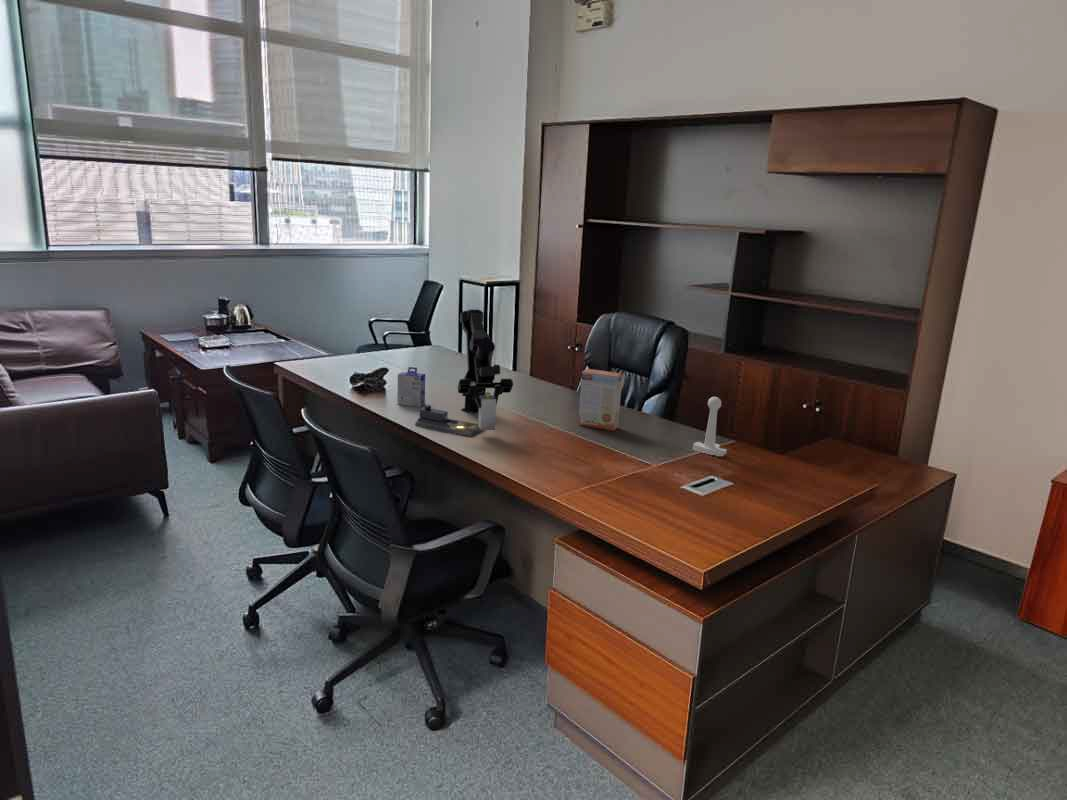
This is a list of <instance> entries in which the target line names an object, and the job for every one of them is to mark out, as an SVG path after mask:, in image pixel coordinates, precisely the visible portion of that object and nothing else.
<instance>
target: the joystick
mask: <svg viewBox="0 0 1067 800" xmlns="http://www.w3.org/2000/svg"><path fill="white" fill-rule="evenodd" d="M707 406H708V408H709V415H708V421H707V426H706V432H705V435H704V437H705V438H704V443H702V442H701V441H696V442H694V443H693V445H692V451H694V450H695V452H696V451H699V452H702V453H706V454H710V455H716V456H724V457H725V456H726V455H727V451H728V450H727V448H721V445H720V444H718V443H716V434H717V420H718V419H717V418H718V411H719V409H720V408H721V407H722V400H721V398H719V397H717V396H712V397H710V398H708V401H707ZM699 452H698V453H699ZM725 454H726V455H725Z"/></svg>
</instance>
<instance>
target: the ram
mask: <svg viewBox="0 0 1067 800" xmlns="http://www.w3.org/2000/svg"><path fill="white" fill-rule="evenodd" d="M448 413H449V412H448V411H446V410H445V411H444V410H441V409H435V408H432V405H430V404H424V407H423V408H421V409H419V418H422V419H427V420H432V421H437V422H442V423H444V422H446V421H447V418H448V415H449V414H448Z"/></svg>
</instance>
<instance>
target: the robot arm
mask: <svg viewBox="0 0 1067 800" xmlns="http://www.w3.org/2000/svg"><path fill="white" fill-rule="evenodd" d="M459 322H460V323H461V329H462V330H463V332H464V333H465V334H466V338H465V339H466V356H467V357H466V361H467V365H466V366H467V371H466V373H465V376H464V377H463V378H460V379H459V381H458V384H457V393H458V394H461V395H462V396H463V397H464V407H462V408H461V409H460V410H461V411H463V412H468V413H474V414H476V413H479V408H481V403H480V398H479V395H485V394H486V389H494V391H493V395H494V397H495V398H496V406H497V405H498V401H499V396H500V395H502V394H504V393H506V394H507V393H511V391H512V389H513V386H514V380H513V379H512V378H500V381H499V382H498V381H497V382H494V381H495V376H496V375H497V376H498V375H500V374H501V367H500V364H494V365H493V366H492V362H491V360H492V358H493V357H494V356H493V355H494V351H495V348H496V344H495V343H494V342H493V340H491V337H490V335H489V334H488V333H487V332H485V329H484V312H483V311H482V310H481V309H468V310H463V311H461V312H460V315H459Z"/></svg>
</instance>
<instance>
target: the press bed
mask: <svg viewBox="0 0 1067 800" xmlns="http://www.w3.org/2000/svg"><path fill="white" fill-rule="evenodd" d="M414 425H415V427H419V426H420V428H424V427H425V429H429V428H430V430H434V429H435V430H436V431H440V432H446V433H449V432H450V434H454V433H456V435H459V434H460V435H459V436H464V435H465V436H464V437H469V436H470V438H471V437H473V436H474V434H475V435H477V434H478V433H480V432H482V431H481V430H480V428H479V426H478V423H474V422H470V421H464V420H458V419H454V418H447V421H446V422H444V423H442V422H437V421H432V420H427V419H422V418H420V417H419V418H417V420H416V421H415V423H414Z"/></svg>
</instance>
